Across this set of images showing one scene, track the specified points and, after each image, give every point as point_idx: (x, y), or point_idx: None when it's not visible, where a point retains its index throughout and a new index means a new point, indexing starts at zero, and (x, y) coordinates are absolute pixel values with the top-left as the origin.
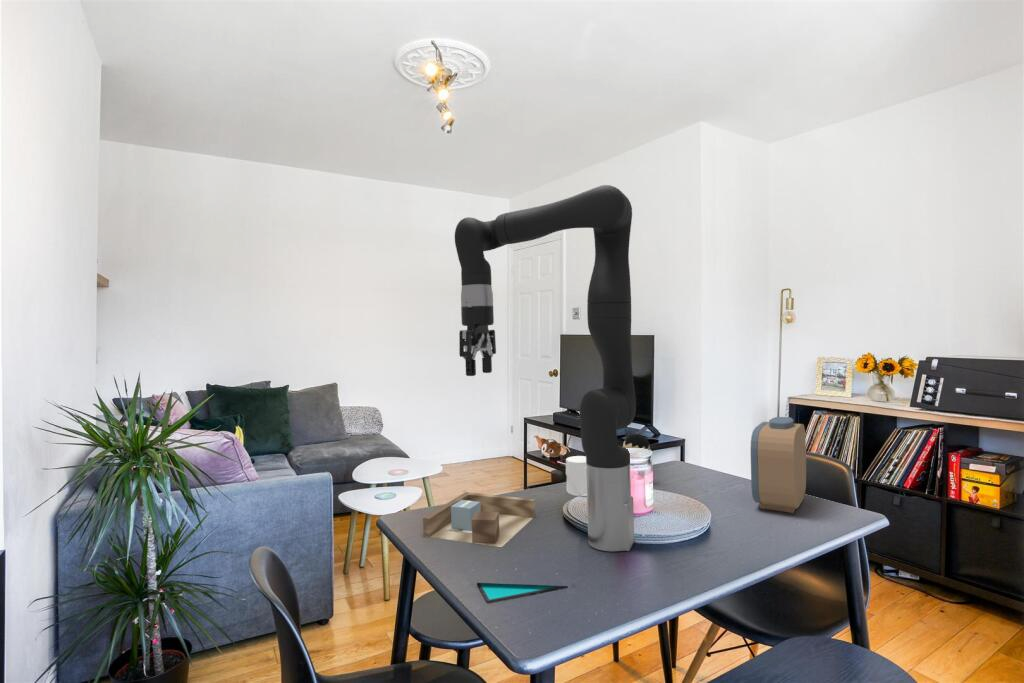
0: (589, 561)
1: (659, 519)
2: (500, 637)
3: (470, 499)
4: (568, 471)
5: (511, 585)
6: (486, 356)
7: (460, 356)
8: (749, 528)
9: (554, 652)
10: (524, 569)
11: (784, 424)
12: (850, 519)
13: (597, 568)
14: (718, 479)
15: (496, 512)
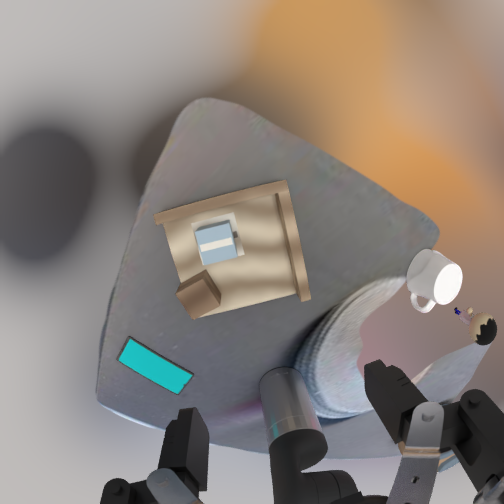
0: (232, 387)
1: (363, 383)
2: (99, 384)
3: (277, 196)
4: (428, 271)
5: (145, 362)
6: (404, 432)
7: (112, 480)
8: (364, 430)
9: (114, 411)
10: (179, 353)
11: (438, 471)
12: (397, 449)
13: (223, 397)
14: (474, 356)
15: (217, 304)
